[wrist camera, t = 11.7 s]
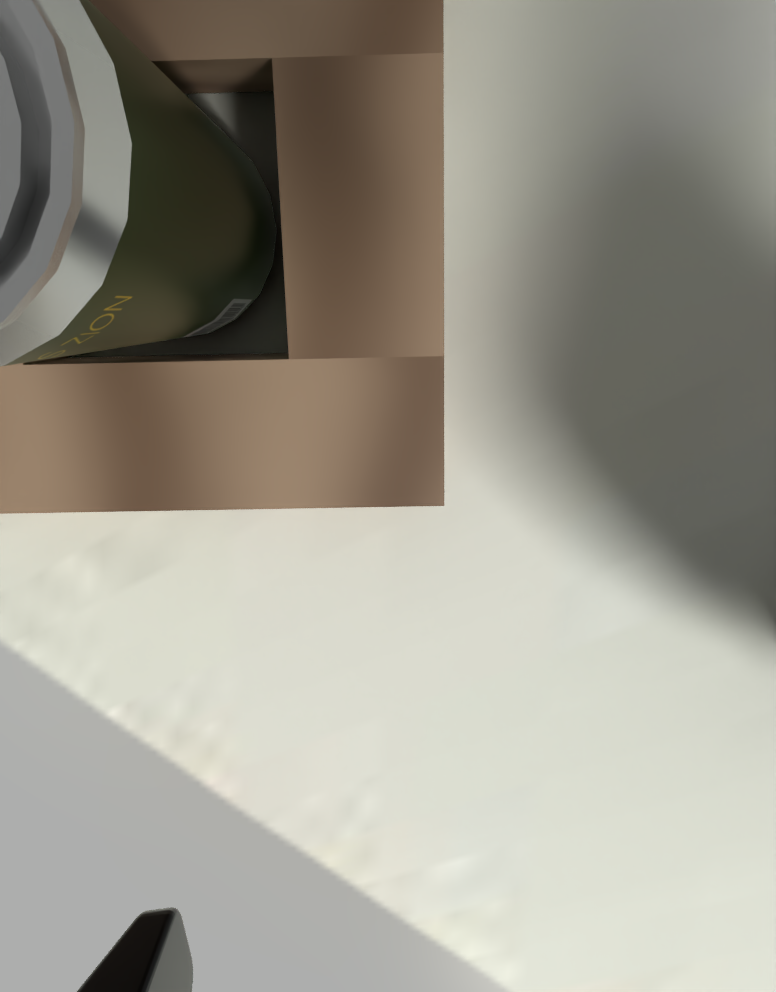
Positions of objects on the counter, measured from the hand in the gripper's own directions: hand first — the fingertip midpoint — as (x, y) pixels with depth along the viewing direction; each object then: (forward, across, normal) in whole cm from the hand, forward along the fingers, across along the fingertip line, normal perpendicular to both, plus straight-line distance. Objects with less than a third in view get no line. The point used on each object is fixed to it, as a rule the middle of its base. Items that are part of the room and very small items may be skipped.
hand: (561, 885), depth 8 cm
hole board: (+14, +6, -9) cm, 18 cm away
